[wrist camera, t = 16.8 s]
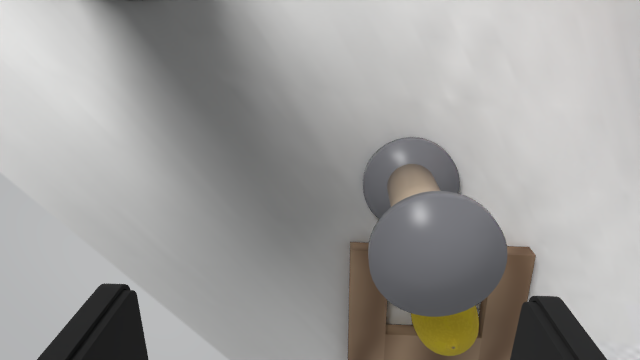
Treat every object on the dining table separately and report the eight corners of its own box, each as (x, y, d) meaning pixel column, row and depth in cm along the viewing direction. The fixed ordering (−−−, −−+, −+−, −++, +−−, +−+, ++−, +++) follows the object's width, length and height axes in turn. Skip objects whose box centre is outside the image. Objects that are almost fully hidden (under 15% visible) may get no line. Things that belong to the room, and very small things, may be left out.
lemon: (467, 262, 40) (493, 319, 33) (463, 311, 42) (487, 376, 35) (406, 262, 41) (418, 318, 33) (405, 311, 43) (416, 375, 35)
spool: (361, 222, 40) (366, 314, 27) (364, 136, 37) (371, 196, 25) (452, 225, 39) (497, 319, 27) (461, 137, 36) (517, 198, 24)
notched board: (347, 362, 45) (347, 373, 44) (350, 242, 40) (350, 250, 39) (506, 369, 44) (511, 381, 43) (529, 247, 39) (535, 255, 38)
